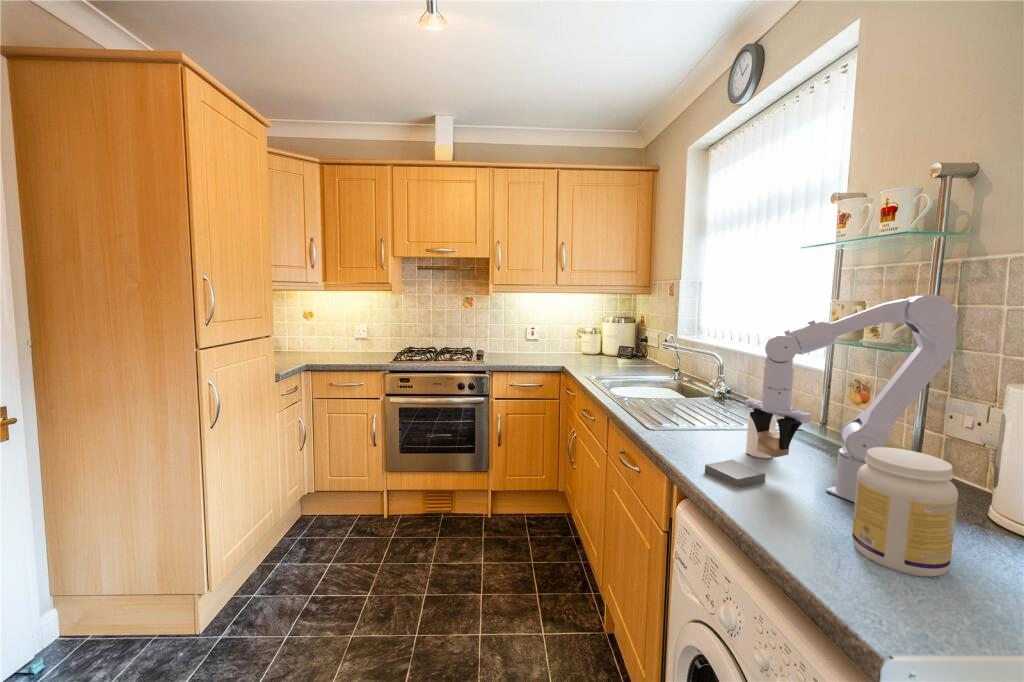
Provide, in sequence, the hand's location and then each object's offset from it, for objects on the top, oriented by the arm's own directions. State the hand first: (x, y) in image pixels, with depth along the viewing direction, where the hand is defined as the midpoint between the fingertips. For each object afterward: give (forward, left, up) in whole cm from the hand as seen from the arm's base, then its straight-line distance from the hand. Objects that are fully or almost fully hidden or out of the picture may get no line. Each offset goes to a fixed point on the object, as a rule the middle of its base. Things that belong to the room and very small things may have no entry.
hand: (773, 445), depth 101 cm
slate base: (+4, +7, -8) cm, 12 cm away
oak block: (0, 0, -2) cm, 2 cm away
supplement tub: (-29, +9, -8) cm, 31 cm away
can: (+12, -12, -8) cm, 19 cm away
